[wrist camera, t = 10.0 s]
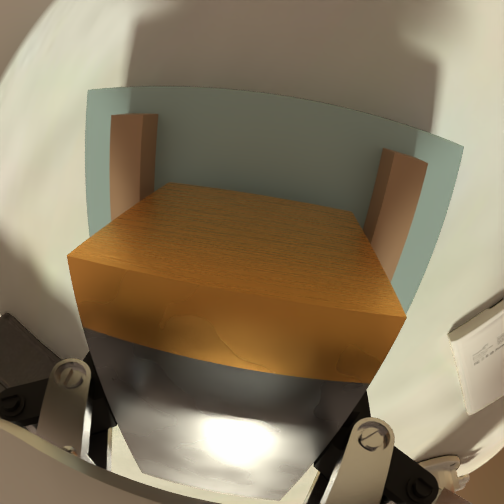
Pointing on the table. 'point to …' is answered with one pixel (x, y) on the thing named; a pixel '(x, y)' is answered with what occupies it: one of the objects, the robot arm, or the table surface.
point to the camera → (22, 355)
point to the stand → (274, 162)
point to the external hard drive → (480, 358)
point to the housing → (232, 332)
